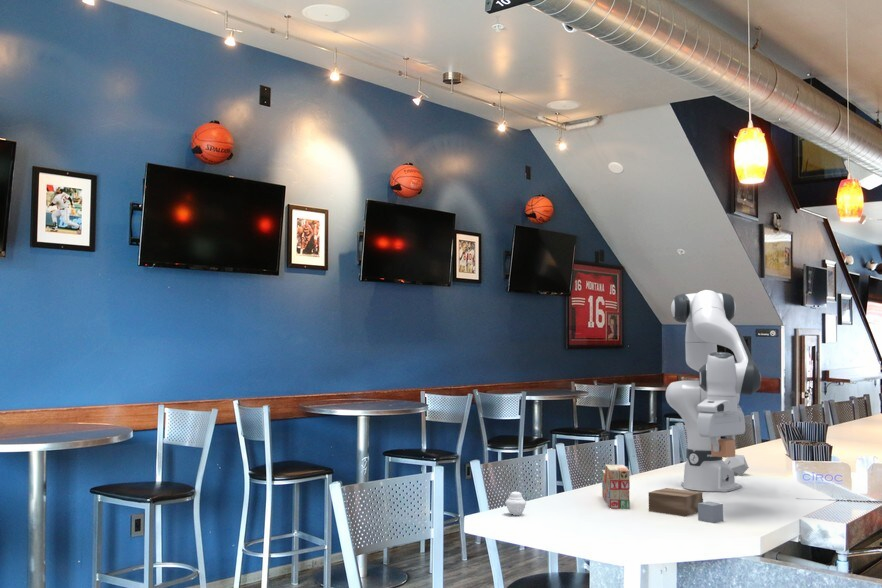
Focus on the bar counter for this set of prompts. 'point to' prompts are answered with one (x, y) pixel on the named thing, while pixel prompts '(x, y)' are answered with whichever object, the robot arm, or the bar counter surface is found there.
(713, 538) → the bar counter surface
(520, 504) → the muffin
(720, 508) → the grey cube
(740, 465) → the die
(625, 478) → the stack of blocks
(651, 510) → the walnut block
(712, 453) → the rust cube
